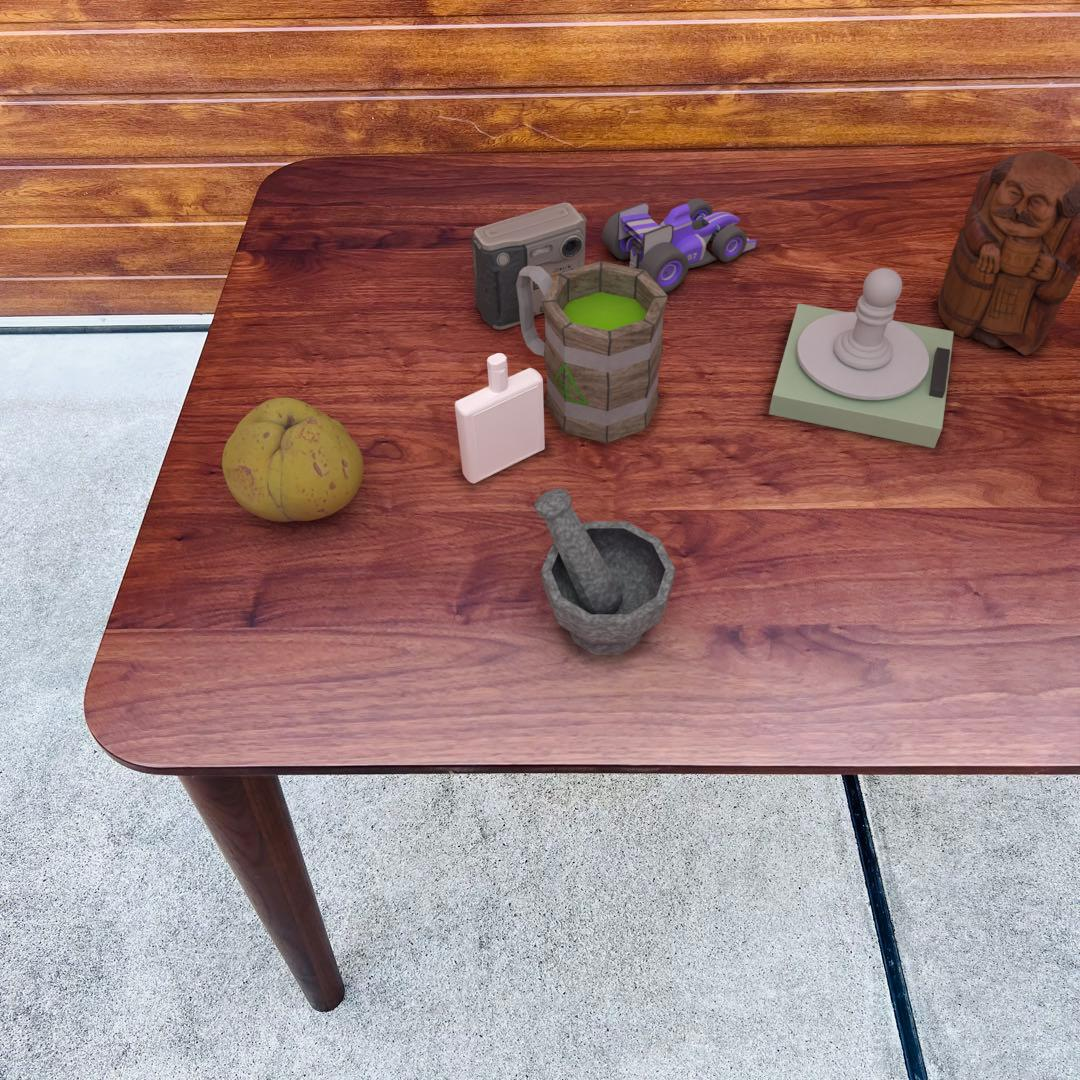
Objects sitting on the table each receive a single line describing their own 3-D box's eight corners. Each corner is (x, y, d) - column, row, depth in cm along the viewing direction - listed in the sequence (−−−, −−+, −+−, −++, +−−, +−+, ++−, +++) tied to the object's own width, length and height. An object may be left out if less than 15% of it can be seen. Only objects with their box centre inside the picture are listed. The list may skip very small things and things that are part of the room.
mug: (682, 399, 95) (694, 295, 86) (608, 460, 91) (612, 357, 81) (559, 329, 102) (558, 226, 93) (484, 382, 98) (475, 279, 88)
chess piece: (889, 337, 95) (914, 255, 88) (893, 374, 92) (920, 293, 85) (831, 332, 96) (852, 251, 89) (833, 370, 92) (855, 288, 85)
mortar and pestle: (690, 613, 80) (706, 514, 70) (625, 696, 75) (632, 602, 66) (574, 549, 84) (575, 448, 75) (506, 624, 80) (497, 526, 70)
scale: (946, 351, 99) (957, 322, 96) (934, 448, 91) (945, 420, 88) (793, 323, 102) (799, 294, 99) (768, 414, 94) (774, 385, 91)
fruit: (264, 574, 83) (232, 493, 76) (224, 482, 90) (191, 399, 82) (388, 524, 86) (370, 442, 79) (341, 439, 93) (320, 356, 85)
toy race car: (764, 255, 109) (773, 202, 104) (649, 301, 105) (653, 247, 100) (711, 213, 115) (718, 160, 110) (600, 255, 110) (601, 202, 105)
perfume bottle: (472, 486, 89) (460, 384, 80) (460, 473, 90) (448, 370, 81) (547, 449, 92) (544, 346, 82) (535, 436, 93) (531, 333, 83)
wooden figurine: (917, 322, 102) (973, 157, 88) (942, 290, 105) (999, 125, 91) (1034, 366, 97) (1112, 199, 83) (1056, 331, 100) (1134, 165, 86)
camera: (491, 336, 102) (484, 252, 94) (470, 304, 105) (462, 220, 98) (592, 305, 105) (594, 221, 97) (568, 275, 108) (568, 191, 100)
